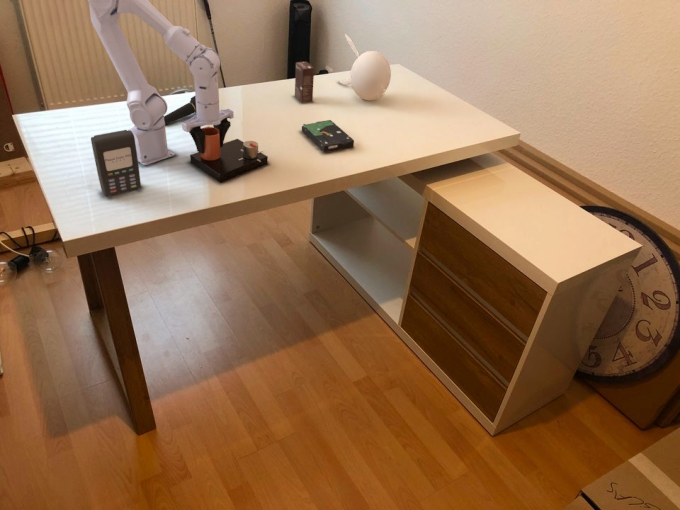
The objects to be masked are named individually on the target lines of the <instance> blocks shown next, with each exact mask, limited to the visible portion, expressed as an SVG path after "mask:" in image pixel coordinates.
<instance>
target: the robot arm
mask: <svg viewBox="0 0 680 510" xmlns="http://www.w3.org/2000/svg"><path fill="white" fill-rule="evenodd" d="M86 1H87V3H88V4H89V15H90V22H91V24H92V26H93V28H94V30H95V33H96V34H97V36H98V38H99V40H100V42H101V43H102V46H103V47H104V49H105V51H106V53H107V55H108V57H109V59H110V61H111V63H112V65H113V67H114V68H115V70H116V72H117V74H118V76H119V79H120V80H121V83H122V84H123V86H124V88H125V89H126V92H127V97H126V98H127V99H126V107H127V108H128V112H129V119H130V121H131V122H132V124H133V125H134V126H133V127H132V128H129V129H128V130H130V131H131V132H132V133H133V134H134V138H135V144H136V151H137V159H138V163H140V164H141V165H143V166H148V165H151V164H154V163H157V162H160V161H163V160H166V159H169V158H172V157H174V156H175V155H176V154H175V153H174V152H173V151H171V150H170V149H169V147H168V140H167V131H166V125H165V121H164V116H165V115H166V114H167V112H168V103H167V101H166V100H165V99H164V97H163V96H162V95H160V93H159V92H158V90H157V88H156V87H155V86H152V85H150V84H149V82H148V81H147V79H146V76H145V74H144V73H143V71H142V69H141V67H140V65H139V62H138V60H137V58H136V56H135V54H134V52H133V50H132V49H131V45H130V44H129V42H128V40H127V38H126V36H125V34H124V32H123V30H122V28H121V26H120V24H119V19H120V16H121V14H132V15H133V14H134V15H135V16H137V18H139V19H140V20H141V21H143V22H144V23H145V24H146V25H148V26H149V27H150V28H152V29H153V30H154V31H155V32H157V33H158V34H159V35H161V36H162V37H163V39H164V44H165V46H166V47H167V48H168V49H169V50H170V51H172V52H173V53H174V54H175V55H176V56H177V57H178V58H180V59H181V60H182V61H183V62H184V63H185V64H186V65H188V68H189V72H190V73H191V75H192V76H193V78H194V96H195V97H196V112H197V113H196V115H194V116H191V118H188V119H186V120H185V121H182V122H181V127H182V131H184V132H186V133H189V134H190V136H191V139H192V140H193V142H194V145H195V148H196V151H197V152H199V153H201V154H203V153H204V140H205V135H206V132H204V131H202V128H203V127H205V126H210V125H212V127H213V128H217V129H218V130H219V131H220V148H221V147H222V146H223V143H225V138H226V134H227V133H228V131H229V129H230V127H231V125H232V123H231V121H230V120H231V119H234V111H233V110H232V109H230V108H226V109H225V108H224V109H220V91H219V90H220V89H219V73H218V70H219V69H220V67H221V57H220V55H219V54H218V53H217V51H216V50H215V49H214V48H212V47H206V45H205V44H201V43H200V41H198V40H197V39H196V38H195V37H194V36H193V35H191V34H190V33H191V31H190V30H189V29H188V28H186V27H185V28H184V27H183V26H181V25H173V24H172V22H170V21H169V20H168V18H166V17H165V16H164V15H163V14H162V13H161V12H160V11H159V9H157V8H156V7H155V6H154V5H153V4H152V3H151V2H150V1H149V0H86ZM228 119H229V120H228Z"/></svg>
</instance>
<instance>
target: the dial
mask: <svg viewBox="0 0 680 510" xmlns="http://www.w3.org/2000/svg"><path fill="white" fill-rule="evenodd" d="M243 142H244V143H243V156H244V157H245V158H247V159H255V158H257V157H258V151H259V143H258V142H257V141H255V140H245V141H243Z"/></svg>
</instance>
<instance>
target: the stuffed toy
mask: <svg viewBox="0 0 680 510" xmlns="http://www.w3.org/2000/svg"><path fill="white" fill-rule="evenodd" d="M344 36H345V40H346V42H347V43H348V45H349V47H350V48H351V51H352V52H353V54H354V55H355V56H356V57H357V58H356V59H355V60H354V62H353V64H352V66H351V70H350V78H347V79H343V80H341V81H340V82H339V84H341V85H343V86H350V85H351V88H352V90H353V92H354V93H355V95H356V96H357V97H358V98H360V99H362V100H364V101H374V100H377V99H379V98H380V97H382V96H383V95H384V94H385V93H386V91H387V90H388V88H389V85H390V82H391V78H392V77H391V76H392V69H391V66H390V63H389V60H388V59H387V57H386V56H385V55H383V54H382V53H381V52H379V51H376V50H368V51H364V52H363V53H361V54H360V53H359V51H358V48H357V47H356V45H355V43H354V41H353V40H352V38H351V37H350V36H349V35H348V34H346V33H345V34H344Z"/></svg>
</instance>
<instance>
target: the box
mask: <svg viewBox="0 0 680 510" xmlns="http://www.w3.org/2000/svg"><path fill="white" fill-rule="evenodd" d="M314 77H315V67H313V65H312V64H311V63H309V62H308V61H298V62H297V61H296V62H295V75H294V97H295V98H296V99H297V100H298V101H299V102H300V103H301V104H308V103H312V102H313V98H314V96H313V95H314Z"/></svg>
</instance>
